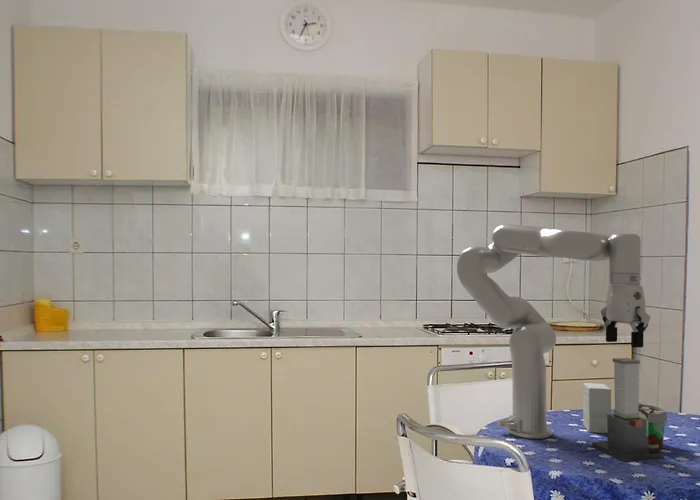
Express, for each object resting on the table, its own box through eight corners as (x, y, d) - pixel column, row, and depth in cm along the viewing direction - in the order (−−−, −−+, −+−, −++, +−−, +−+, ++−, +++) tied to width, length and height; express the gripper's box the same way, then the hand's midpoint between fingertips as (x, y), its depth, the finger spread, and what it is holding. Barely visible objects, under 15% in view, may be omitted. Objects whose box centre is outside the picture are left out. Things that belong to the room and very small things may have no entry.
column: (625, 426, 146) (624, 361, 146) (613, 421, 150) (612, 358, 151) (640, 425, 147) (639, 360, 147) (627, 420, 151) (627, 357, 152)
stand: (623, 461, 141) (622, 424, 141) (592, 446, 153) (592, 412, 153) (663, 457, 144) (663, 421, 144) (630, 443, 155) (629, 409, 156)
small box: (612, 433, 165) (611, 389, 165) (589, 432, 166) (588, 388, 166) (604, 426, 172) (604, 383, 173) (582, 424, 174) (582, 382, 174)
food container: (675, 454, 147) (674, 415, 147) (649, 452, 148) (649, 414, 148) (659, 440, 159) (658, 404, 159) (635, 438, 160) (635, 403, 160)
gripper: (661, 281, 142) (660, 349, 142) (614, 278, 159) (613, 339, 159) (635, 281, 140) (635, 349, 140) (591, 278, 157) (590, 340, 157)
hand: (623, 344), depth 149 cm, fingers open, 9 cm apart
